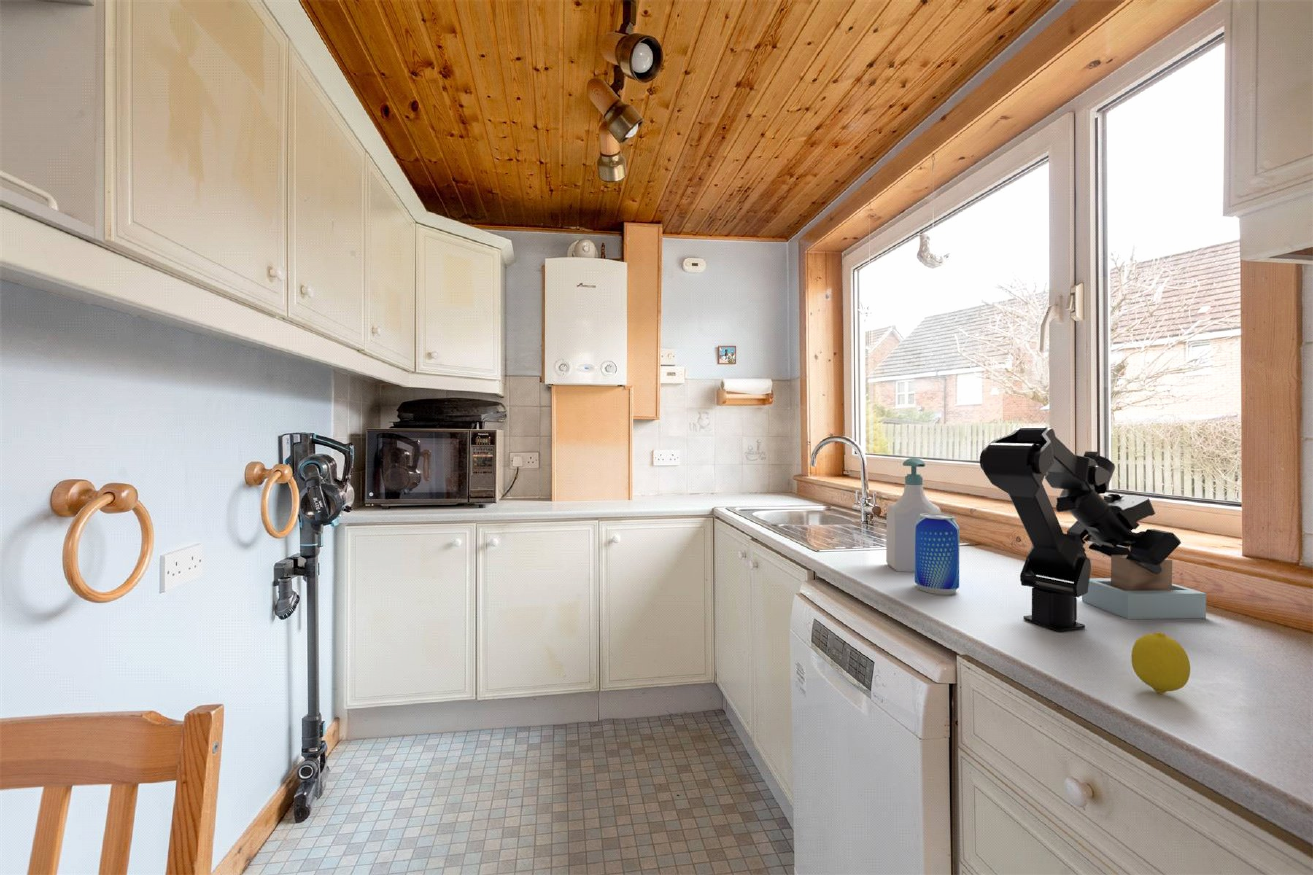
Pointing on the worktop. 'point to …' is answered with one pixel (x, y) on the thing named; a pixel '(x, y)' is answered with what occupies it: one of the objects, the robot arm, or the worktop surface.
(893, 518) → the soap bottle
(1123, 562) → the brown rectangular block
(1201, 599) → the light blue tray
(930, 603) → the worktop surface
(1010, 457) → the robot arm
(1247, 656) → the worktop surface
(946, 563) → the beer can
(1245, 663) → the worktop surface
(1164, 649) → the lemon
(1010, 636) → the worktop surface
